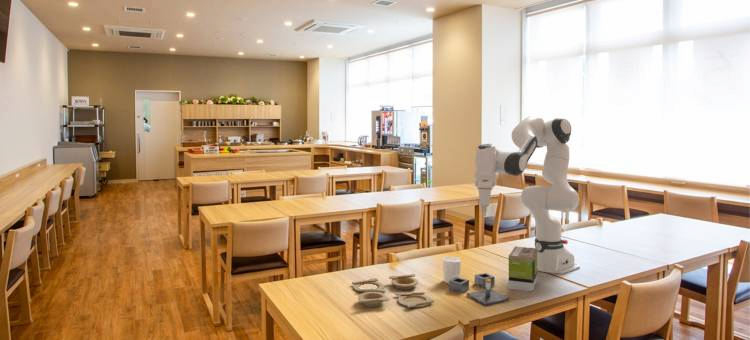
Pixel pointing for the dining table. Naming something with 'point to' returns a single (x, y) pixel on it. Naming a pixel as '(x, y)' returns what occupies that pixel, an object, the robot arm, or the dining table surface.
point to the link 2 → (481, 279)
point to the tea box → (523, 268)
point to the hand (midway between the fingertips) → (484, 213)
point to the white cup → (451, 268)
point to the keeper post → (488, 295)
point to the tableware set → (406, 298)
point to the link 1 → (459, 285)
